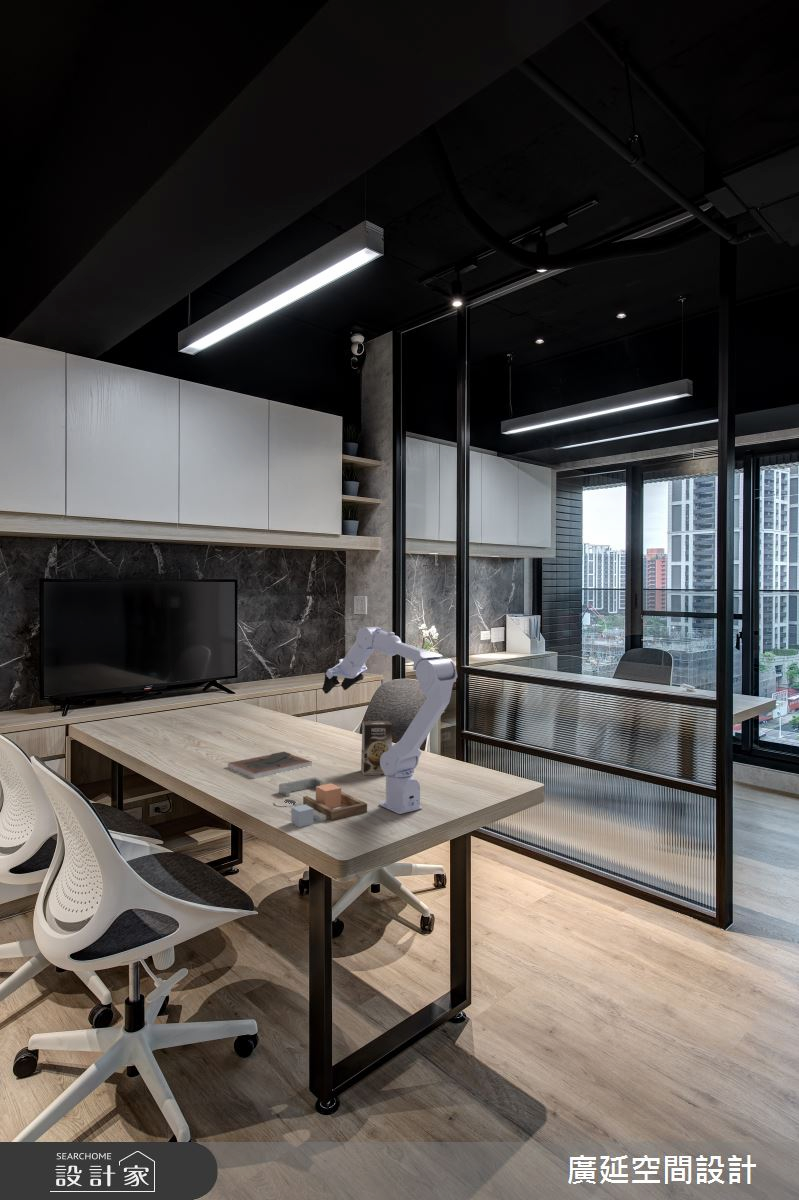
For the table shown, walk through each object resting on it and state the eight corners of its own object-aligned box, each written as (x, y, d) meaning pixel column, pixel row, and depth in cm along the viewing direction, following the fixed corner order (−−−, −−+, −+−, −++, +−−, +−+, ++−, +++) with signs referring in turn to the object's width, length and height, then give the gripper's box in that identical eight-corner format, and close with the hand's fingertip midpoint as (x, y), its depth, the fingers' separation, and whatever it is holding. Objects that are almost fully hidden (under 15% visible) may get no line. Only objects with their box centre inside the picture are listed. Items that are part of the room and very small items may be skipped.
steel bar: (326, 822, 166) (326, 815, 166) (320, 823, 165) (320, 816, 165) (300, 809, 175) (300, 803, 175) (294, 811, 174) (294, 804, 174)
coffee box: (363, 775, 206) (364, 724, 205) (360, 770, 212) (361, 720, 212) (392, 774, 208) (392, 724, 207) (388, 768, 214) (389, 719, 214)
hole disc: (299, 804, 178) (299, 803, 178) (279, 808, 174) (279, 808, 174) (289, 798, 183) (289, 797, 183) (269, 802, 179) (269, 802, 179)
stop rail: (323, 789, 192) (323, 781, 192) (286, 796, 184) (286, 788, 184) (315, 785, 195) (315, 777, 195) (278, 792, 188) (279, 784, 188)
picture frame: (284, 758, 228) (227, 769, 213) (284, 751, 228) (227, 762, 213) (311, 768, 216) (254, 781, 201) (311, 760, 216) (254, 773, 201)
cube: (340, 806, 177) (341, 787, 177) (325, 809, 174) (325, 791, 174) (331, 801, 181) (331, 783, 181) (315, 804, 178) (315, 786, 178)
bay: (367, 811, 173) (367, 803, 173) (331, 820, 166) (331, 811, 166) (337, 797, 184) (337, 789, 184) (303, 804, 178) (303, 796, 178)
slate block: (313, 824, 164) (313, 808, 163) (299, 827, 161) (299, 811, 161) (305, 819, 167) (305, 804, 167) (291, 823, 164) (291, 807, 164)
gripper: (365, 646, 196) (344, 676, 203) (330, 650, 185) (309, 682, 192) (378, 664, 193) (356, 693, 200) (342, 669, 182) (320, 700, 189)
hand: (334, 689), depth 196 cm, fingers open, 7 cm apart
